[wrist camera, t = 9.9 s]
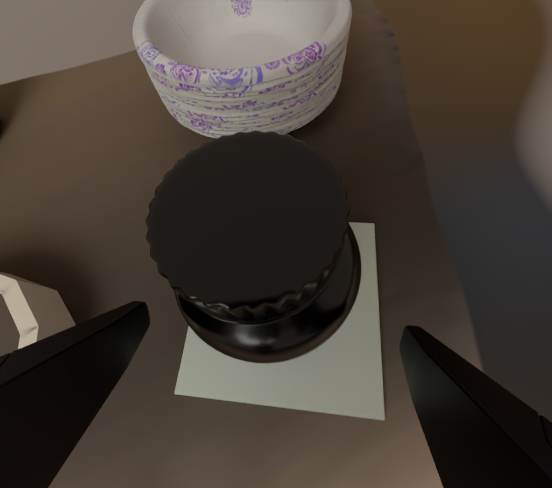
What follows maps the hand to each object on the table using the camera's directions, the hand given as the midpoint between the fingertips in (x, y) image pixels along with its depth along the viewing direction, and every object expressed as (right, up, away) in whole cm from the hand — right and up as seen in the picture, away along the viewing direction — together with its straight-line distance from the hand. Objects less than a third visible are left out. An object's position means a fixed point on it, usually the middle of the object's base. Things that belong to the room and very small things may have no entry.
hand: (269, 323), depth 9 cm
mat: (+1, -1, +8) cm, 9 cm away
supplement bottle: (+1, -1, +8) cm, 8 cm away
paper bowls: (-2, +16, +16) cm, 23 cm away
